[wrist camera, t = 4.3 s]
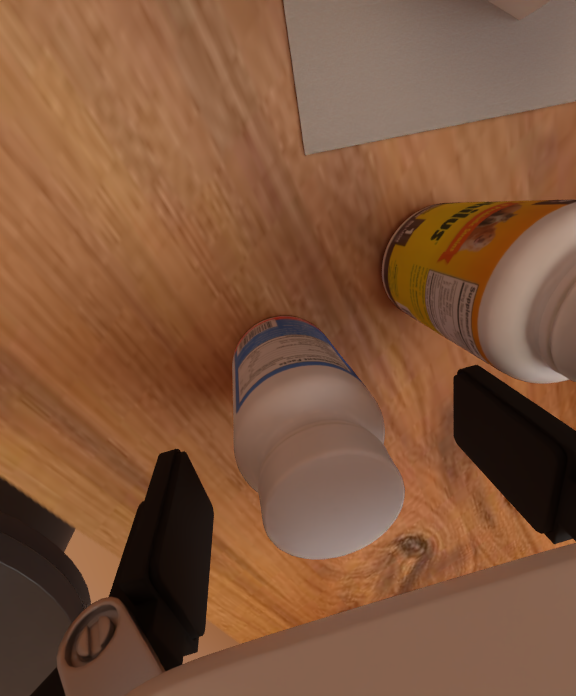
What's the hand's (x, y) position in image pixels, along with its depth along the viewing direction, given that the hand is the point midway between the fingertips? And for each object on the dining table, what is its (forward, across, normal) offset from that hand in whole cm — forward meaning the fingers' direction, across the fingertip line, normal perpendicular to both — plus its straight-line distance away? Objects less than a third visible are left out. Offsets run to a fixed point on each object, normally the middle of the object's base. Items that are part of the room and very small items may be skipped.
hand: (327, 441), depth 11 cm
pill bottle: (+7, +1, 0) cm, 7 cm away
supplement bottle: (+8, -8, -3) cm, 11 cm away
